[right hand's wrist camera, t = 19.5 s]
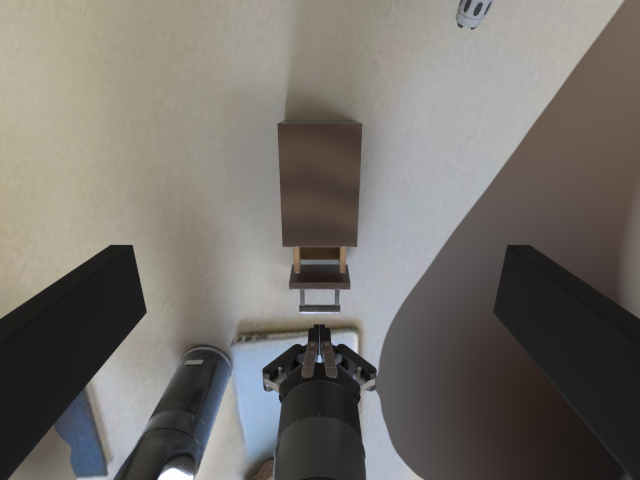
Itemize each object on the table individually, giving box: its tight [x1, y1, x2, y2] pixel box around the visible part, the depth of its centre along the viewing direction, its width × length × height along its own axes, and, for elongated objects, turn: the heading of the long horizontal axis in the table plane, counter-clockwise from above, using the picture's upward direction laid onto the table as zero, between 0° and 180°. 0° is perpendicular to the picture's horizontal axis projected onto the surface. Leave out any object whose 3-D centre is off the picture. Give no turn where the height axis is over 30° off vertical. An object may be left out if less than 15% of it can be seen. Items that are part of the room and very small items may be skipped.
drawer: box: [289, 247, 350, 314], centre depth 52 cm, size 20×9×6 cm, turn 0°
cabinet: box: [278, 121, 362, 247], centre depth 48 cm, size 16×10×8 cm, turn 0°
